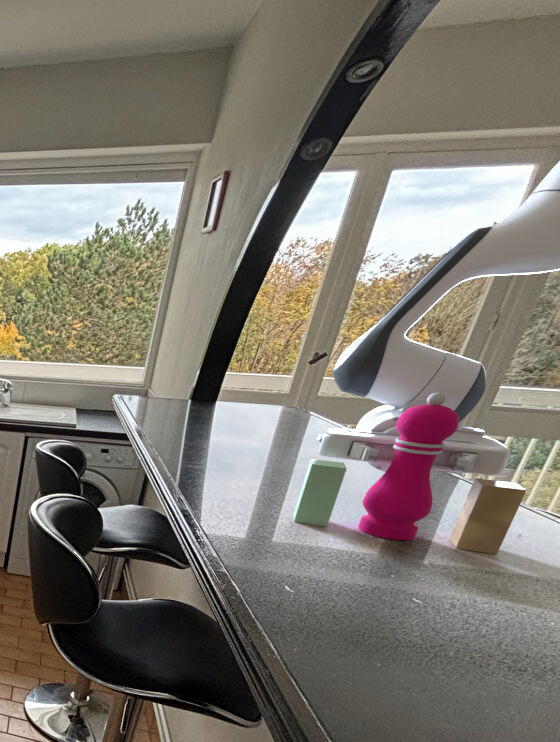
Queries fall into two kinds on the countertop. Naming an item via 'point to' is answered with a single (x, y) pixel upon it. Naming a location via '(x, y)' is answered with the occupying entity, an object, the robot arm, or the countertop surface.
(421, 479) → the pepper mill
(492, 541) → the maple block
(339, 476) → the sage block
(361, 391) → the robot arm
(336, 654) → the countertop surface
